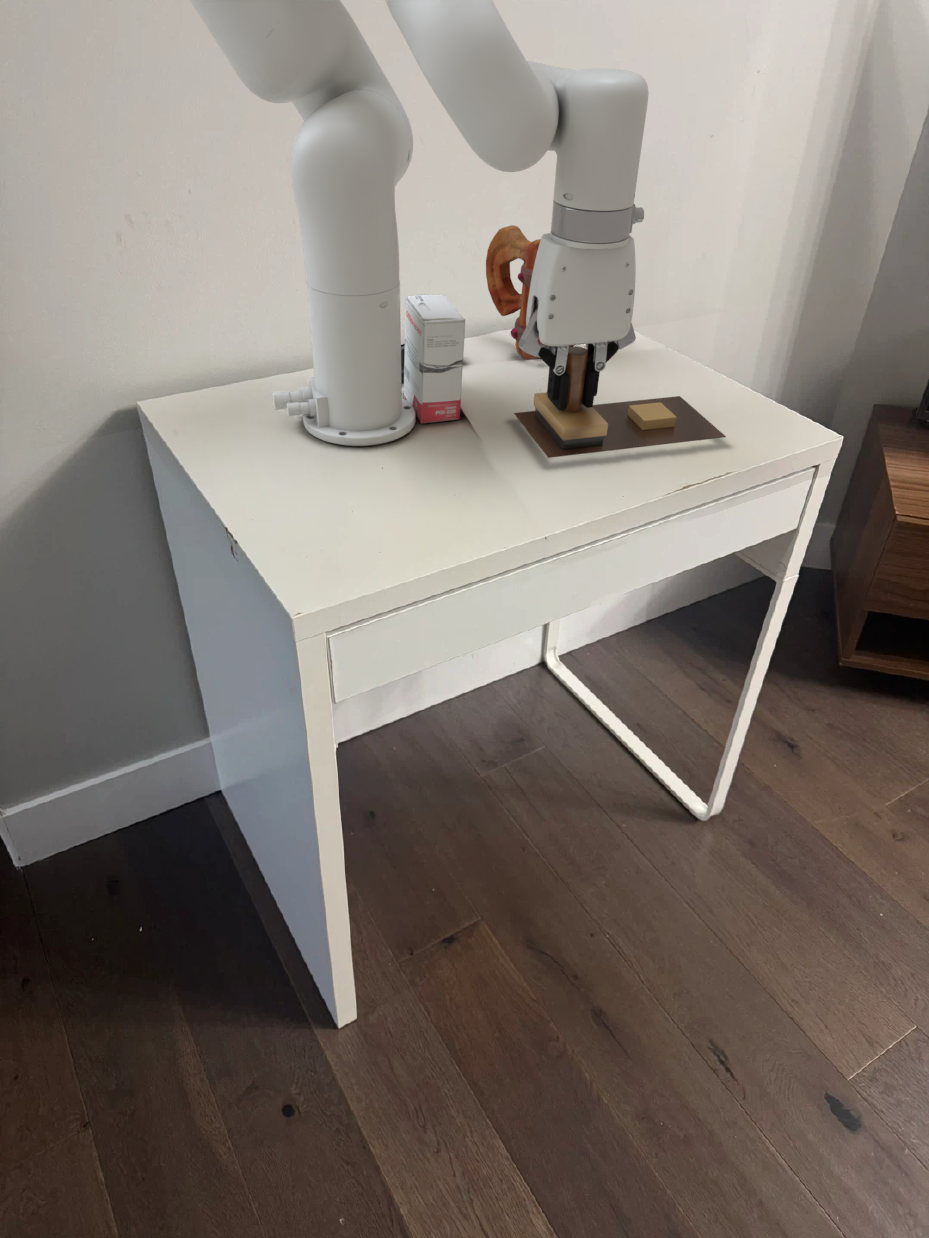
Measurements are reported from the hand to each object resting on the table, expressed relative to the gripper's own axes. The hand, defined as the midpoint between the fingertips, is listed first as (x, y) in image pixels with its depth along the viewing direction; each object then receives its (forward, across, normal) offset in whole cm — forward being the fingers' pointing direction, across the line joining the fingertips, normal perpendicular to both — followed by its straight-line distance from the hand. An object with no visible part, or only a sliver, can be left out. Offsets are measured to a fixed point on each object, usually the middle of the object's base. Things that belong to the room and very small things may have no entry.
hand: (570, 402), depth 95 cm
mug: (+5, -5, -26) cm, 26 cm away
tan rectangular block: (+3, -10, 0) cm, 11 cm away
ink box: (+5, +12, -12) cm, 18 cm away
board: (+4, -6, 0) cm, 8 cm away
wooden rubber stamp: (+3, 0, 0) cm, 3 cm away
